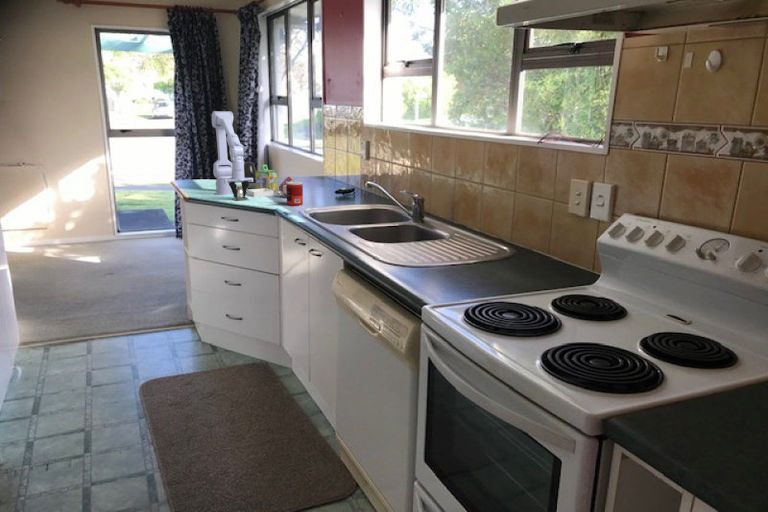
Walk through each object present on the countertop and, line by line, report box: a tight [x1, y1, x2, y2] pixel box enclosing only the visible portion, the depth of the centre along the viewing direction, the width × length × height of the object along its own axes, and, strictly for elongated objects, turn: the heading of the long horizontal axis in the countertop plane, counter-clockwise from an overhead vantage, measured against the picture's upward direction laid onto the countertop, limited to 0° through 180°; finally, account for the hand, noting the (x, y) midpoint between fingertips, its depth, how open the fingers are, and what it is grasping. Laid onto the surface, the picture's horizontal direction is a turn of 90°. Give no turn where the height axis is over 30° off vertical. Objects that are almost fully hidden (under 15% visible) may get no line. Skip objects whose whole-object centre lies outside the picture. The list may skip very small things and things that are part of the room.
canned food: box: [286, 181, 304, 207], centre depth 282 cm, size 8×8×11 cm
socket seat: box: [229, 196, 250, 202], centre depth 294 cm, size 8×8×1 cm
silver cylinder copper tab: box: [236, 185, 244, 200], centre depth 293 cm, size 4×4×6 cm
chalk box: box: [255, 164, 279, 192], centre depth 325 cm, size 9×9×15 cm
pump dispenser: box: [240, 161, 257, 189], centre depth 336 cm, size 10×10×15 cm
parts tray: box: [246, 188, 275, 198], centre depth 310 cm, size 11×11×3 cm
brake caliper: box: [276, 176, 295, 199], centre depth 304 cm, size 11×11×12 cm
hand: (239, 196), depth 293 cm, fingers closed on silver cylinder copper tab, 4 cm apart
